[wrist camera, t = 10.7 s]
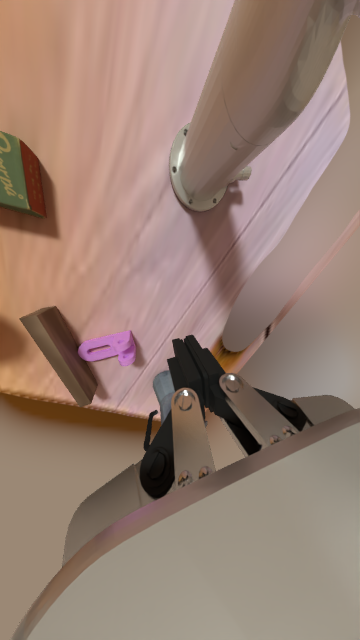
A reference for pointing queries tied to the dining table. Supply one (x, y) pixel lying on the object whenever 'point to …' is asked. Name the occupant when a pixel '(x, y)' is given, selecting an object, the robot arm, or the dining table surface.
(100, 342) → the bracket
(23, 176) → the carton
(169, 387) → the moka pot
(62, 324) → the walnut board
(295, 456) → the robot arm
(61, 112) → the dining table surface
